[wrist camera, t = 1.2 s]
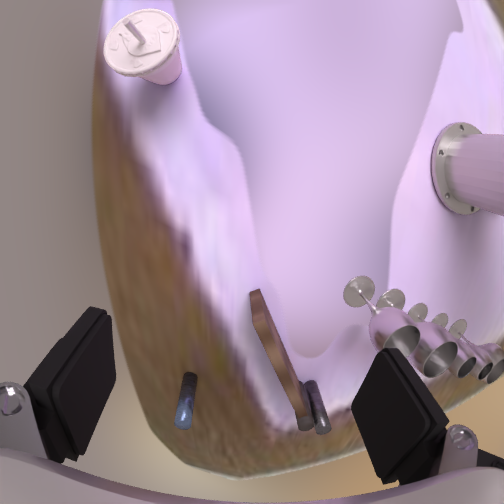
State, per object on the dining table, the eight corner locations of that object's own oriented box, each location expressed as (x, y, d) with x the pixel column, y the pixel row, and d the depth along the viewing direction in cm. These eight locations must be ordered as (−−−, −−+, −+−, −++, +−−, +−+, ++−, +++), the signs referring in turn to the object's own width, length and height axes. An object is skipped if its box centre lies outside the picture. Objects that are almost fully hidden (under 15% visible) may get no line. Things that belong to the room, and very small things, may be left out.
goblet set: (333, 305, 36) (373, 372, 23) (355, 265, 35) (409, 320, 22) (455, 347, 41) (496, 392, 28) (473, 320, 39) (518, 361, 27)
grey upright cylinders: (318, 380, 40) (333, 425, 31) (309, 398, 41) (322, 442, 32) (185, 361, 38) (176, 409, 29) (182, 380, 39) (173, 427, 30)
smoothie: (169, 107, 28) (122, 74, 14) (126, 80, 26) (63, 41, 13) (206, 61, 26) (186, 0, 13) (162, 36, 25) (120, -25, 12)
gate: (304, 387, 40) (315, 427, 32) (291, 392, 40) (300, 432, 32) (262, 287, 34) (269, 323, 27) (246, 293, 34) (249, 331, 27)
